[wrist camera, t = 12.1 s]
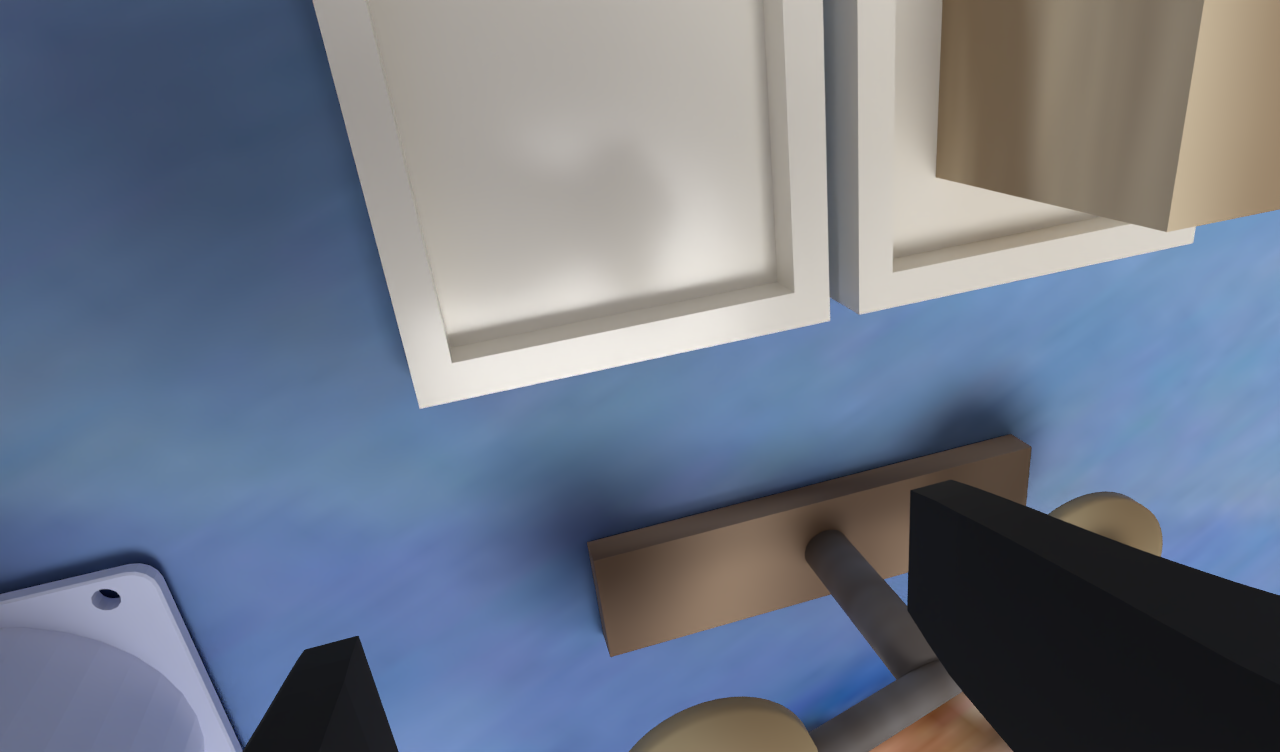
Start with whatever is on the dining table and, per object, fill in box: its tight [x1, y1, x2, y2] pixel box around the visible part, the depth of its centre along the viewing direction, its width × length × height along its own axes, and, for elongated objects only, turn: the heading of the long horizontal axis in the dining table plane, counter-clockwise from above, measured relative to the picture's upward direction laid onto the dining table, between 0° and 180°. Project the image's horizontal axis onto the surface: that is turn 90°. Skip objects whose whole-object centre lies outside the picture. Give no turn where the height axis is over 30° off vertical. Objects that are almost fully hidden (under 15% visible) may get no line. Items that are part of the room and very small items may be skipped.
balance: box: [587, 434, 1162, 752], centre depth 18 cm, size 14×4×7 cm, turn 97°
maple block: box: [936, 0, 1280, 232], centre depth 14 cm, size 4×4×6 cm
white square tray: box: [313, 0, 830, 409], centre depth 15 cm, size 9×9×2 cm
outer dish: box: [823, 0, 1196, 315], centre depth 17 cm, size 9×9×2 cm
